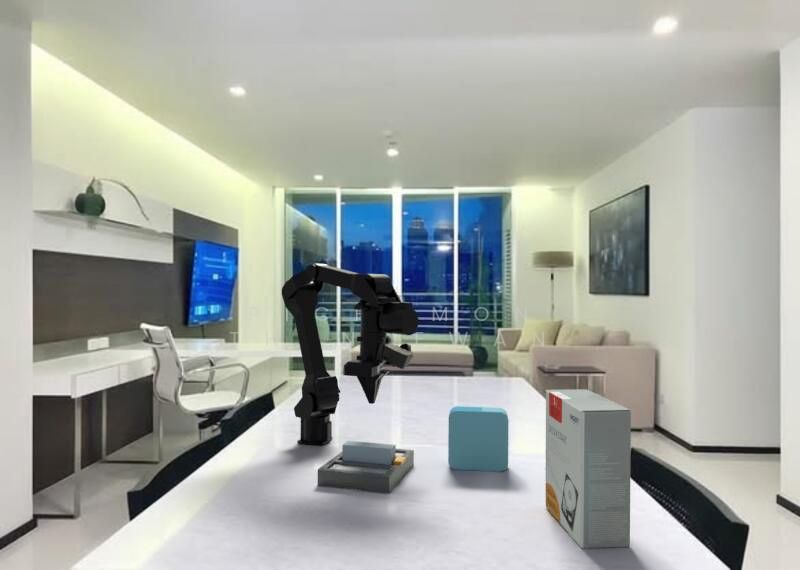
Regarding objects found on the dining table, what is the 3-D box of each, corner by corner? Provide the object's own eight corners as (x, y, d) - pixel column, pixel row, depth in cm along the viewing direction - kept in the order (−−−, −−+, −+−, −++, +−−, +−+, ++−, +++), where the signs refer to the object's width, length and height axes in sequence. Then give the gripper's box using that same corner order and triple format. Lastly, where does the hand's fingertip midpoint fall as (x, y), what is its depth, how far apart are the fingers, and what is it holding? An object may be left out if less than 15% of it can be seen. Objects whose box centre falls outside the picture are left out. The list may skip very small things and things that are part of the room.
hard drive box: (543, 507, 96) (544, 389, 96) (587, 506, 97) (588, 388, 97) (580, 550, 80) (581, 408, 81) (632, 548, 81) (633, 408, 81)
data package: (507, 465, 119) (507, 407, 119) (508, 472, 114) (508, 412, 114) (449, 462, 120) (449, 405, 120) (448, 469, 116) (448, 410, 116)
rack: (317, 485, 106) (317, 466, 106) (351, 458, 122) (351, 441, 122) (390, 493, 102) (390, 473, 102) (414, 464, 118) (414, 447, 118)
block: (342, 475, 112) (342, 444, 112) (347, 470, 115) (347, 440, 115) (390, 480, 109) (391, 448, 109) (395, 475, 112) (395, 444, 112)
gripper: (395, 337, 112) (393, 416, 112) (421, 330, 130) (419, 398, 130) (343, 334, 116) (341, 411, 116) (375, 327, 133) (373, 394, 134)
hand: (371, 403), depth 124 cm, fingers closed
